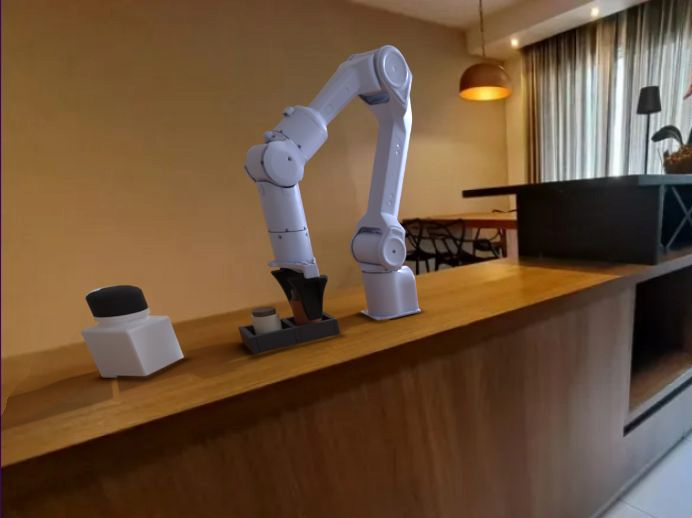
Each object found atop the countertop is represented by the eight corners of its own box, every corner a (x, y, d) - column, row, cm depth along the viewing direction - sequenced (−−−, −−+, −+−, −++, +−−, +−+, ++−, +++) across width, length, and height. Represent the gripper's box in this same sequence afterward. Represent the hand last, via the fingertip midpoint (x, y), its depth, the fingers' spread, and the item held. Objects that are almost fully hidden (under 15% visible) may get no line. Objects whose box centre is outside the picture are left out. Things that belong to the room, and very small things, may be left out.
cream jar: (281, 336, 75) (273, 304, 72) (288, 342, 72) (280, 309, 70) (255, 342, 72) (246, 309, 70) (262, 348, 70) (252, 314, 67)
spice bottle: (319, 326, 79) (309, 284, 75) (327, 332, 76) (318, 288, 72) (294, 332, 76) (283, 288, 73) (302, 338, 73) (292, 293, 70)
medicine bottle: (186, 360, 67) (157, 282, 62) (147, 379, 61) (111, 294, 56) (143, 359, 68) (112, 281, 63) (100, 378, 62) (61, 294, 57)
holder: (325, 327, 81) (321, 310, 79) (340, 336, 76) (337, 318, 75) (243, 345, 73) (238, 327, 71) (255, 357, 68) (249, 337, 67)
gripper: (248, 229, 71) (269, 310, 77) (274, 236, 61) (297, 329, 67) (293, 225, 75) (310, 302, 81) (324, 232, 65) (341, 319, 71)
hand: (307, 314), depth 75 cm, fingers open, 7 cm apart
